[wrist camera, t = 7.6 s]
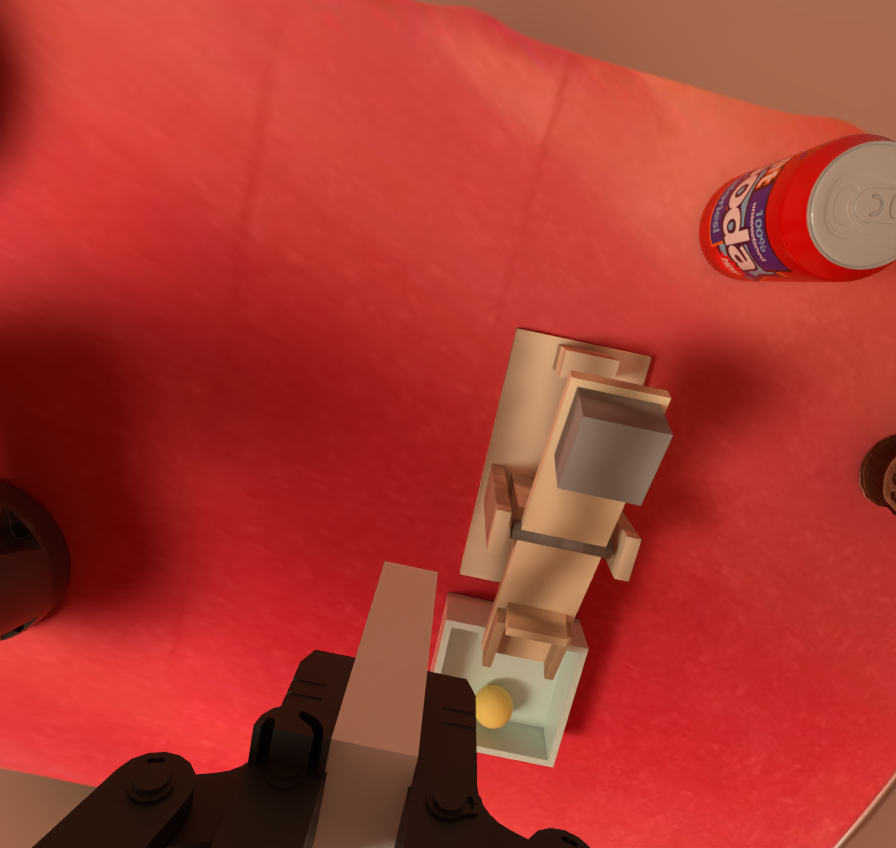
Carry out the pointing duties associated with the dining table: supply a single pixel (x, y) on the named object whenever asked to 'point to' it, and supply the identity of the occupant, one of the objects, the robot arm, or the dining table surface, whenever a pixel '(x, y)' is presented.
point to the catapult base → (537, 444)
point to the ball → (493, 706)
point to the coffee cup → (880, 474)
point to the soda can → (807, 215)
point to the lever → (575, 512)
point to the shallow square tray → (510, 683)
